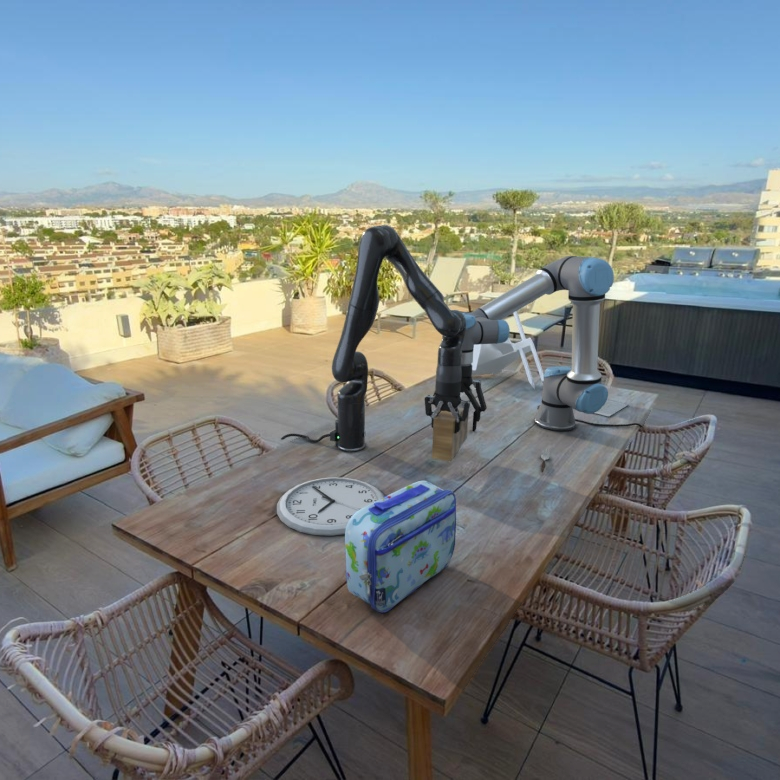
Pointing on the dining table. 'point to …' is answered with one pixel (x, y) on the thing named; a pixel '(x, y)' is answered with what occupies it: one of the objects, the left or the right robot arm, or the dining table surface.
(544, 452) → the fork
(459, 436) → the box
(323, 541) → the dining table surface
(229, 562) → the dining table surface
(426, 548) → the lunch box
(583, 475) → the dining table surface
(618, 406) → the invitation card
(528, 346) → the white plastic object
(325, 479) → the wall clock
